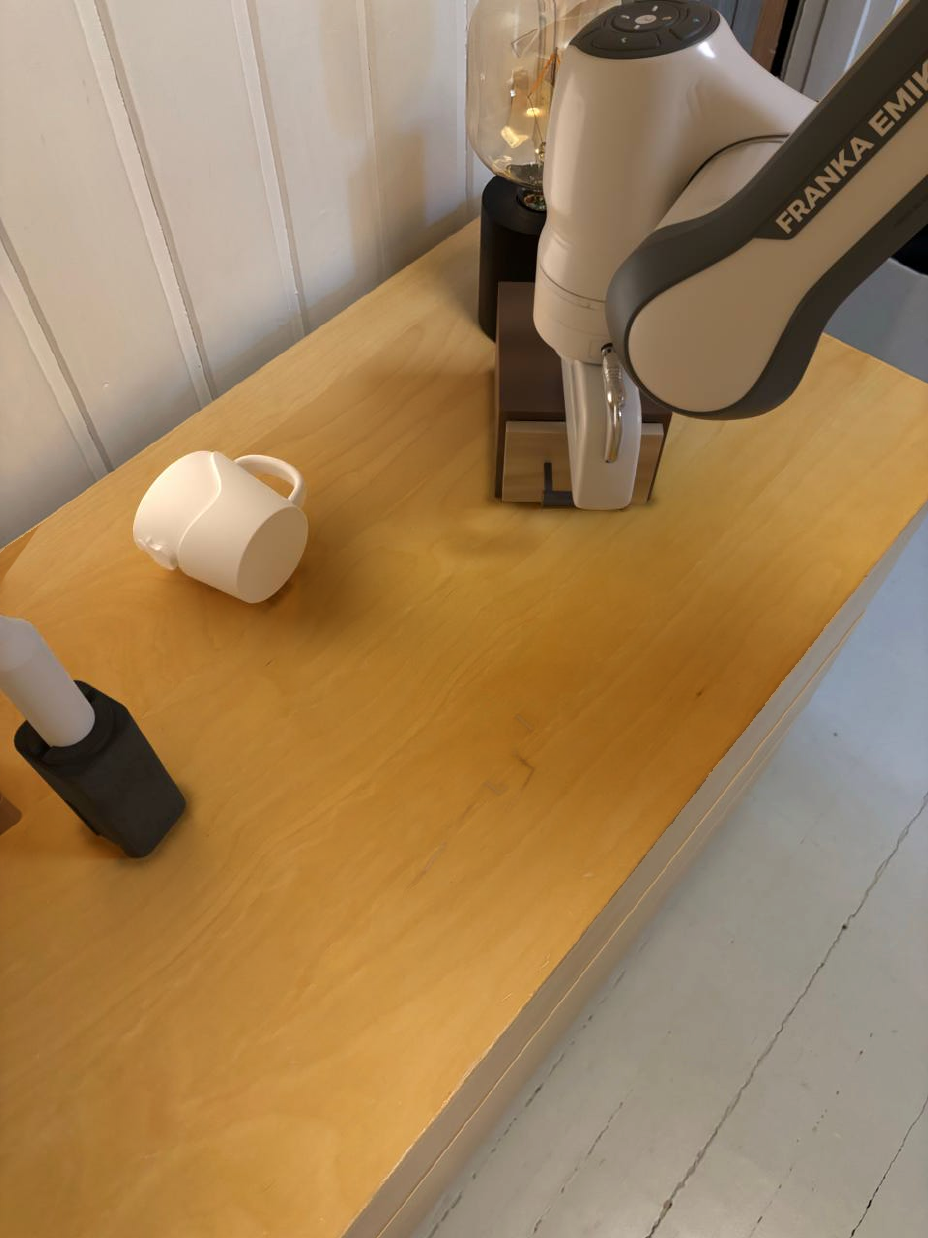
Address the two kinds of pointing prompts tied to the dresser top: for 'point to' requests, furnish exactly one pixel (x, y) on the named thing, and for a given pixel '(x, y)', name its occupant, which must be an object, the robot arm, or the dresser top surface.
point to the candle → (86, 745)
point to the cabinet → (535, 375)
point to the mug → (225, 523)
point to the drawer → (561, 463)
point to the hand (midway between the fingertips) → (582, 453)
